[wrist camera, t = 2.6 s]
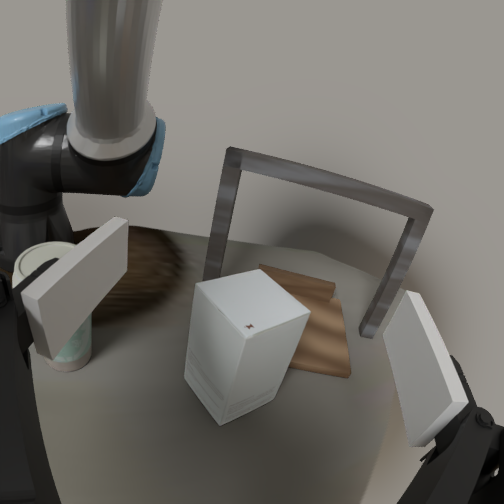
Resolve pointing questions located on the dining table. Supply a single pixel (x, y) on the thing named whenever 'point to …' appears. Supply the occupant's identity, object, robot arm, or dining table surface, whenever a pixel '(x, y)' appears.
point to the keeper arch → (308, 288)
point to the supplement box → (241, 342)
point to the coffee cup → (80, 342)
